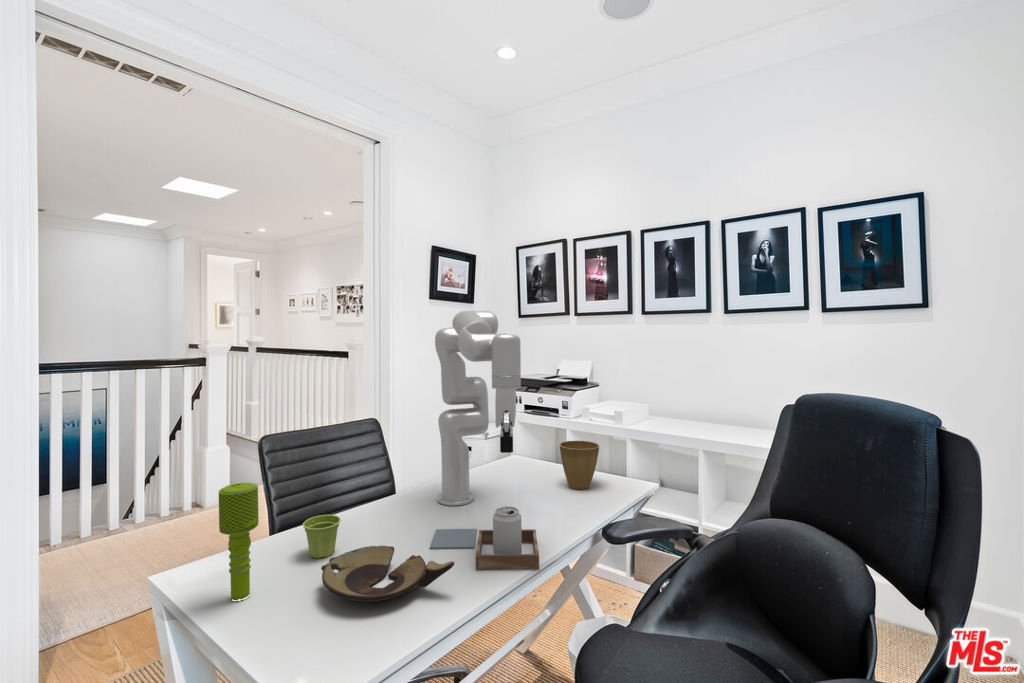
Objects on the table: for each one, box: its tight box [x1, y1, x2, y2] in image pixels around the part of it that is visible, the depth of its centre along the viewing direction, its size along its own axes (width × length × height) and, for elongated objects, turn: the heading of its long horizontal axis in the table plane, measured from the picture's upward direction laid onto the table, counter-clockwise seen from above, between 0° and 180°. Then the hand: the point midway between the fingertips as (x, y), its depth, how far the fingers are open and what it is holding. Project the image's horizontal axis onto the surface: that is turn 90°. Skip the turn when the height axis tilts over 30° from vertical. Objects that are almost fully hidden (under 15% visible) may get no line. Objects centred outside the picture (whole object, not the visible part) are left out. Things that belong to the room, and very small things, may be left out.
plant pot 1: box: [302, 514, 342, 559], centre depth 129 cm, size 9×9×9 cm
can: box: [492, 505, 523, 554], centre depth 127 cm, size 8×8×12 cm
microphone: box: [218, 482, 259, 600], centre depth 108 cm, size 8×8×25 cm
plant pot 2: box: [559, 440, 600, 491], centre depth 182 cm, size 15×15×16 cm
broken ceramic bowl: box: [320, 545, 455, 602], centre depth 110 cm, size 22×30×8 cm
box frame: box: [475, 528, 540, 571], centre depth 127 cm, size 16×16×4 cm
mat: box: [429, 528, 478, 550], centre depth 137 cm, size 12×12×1 cm
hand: (506, 447), depth 127 cm, fingers open, 9 cm apart
